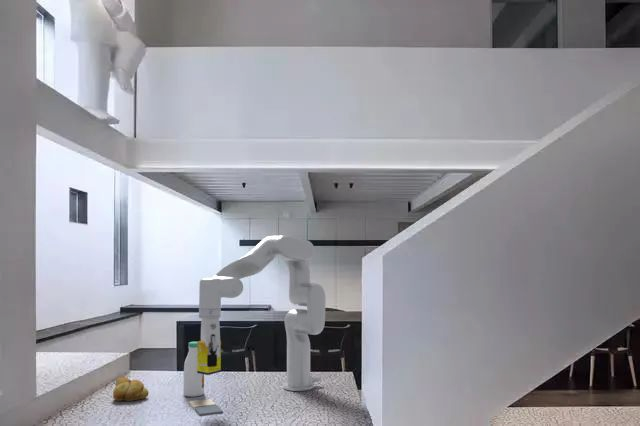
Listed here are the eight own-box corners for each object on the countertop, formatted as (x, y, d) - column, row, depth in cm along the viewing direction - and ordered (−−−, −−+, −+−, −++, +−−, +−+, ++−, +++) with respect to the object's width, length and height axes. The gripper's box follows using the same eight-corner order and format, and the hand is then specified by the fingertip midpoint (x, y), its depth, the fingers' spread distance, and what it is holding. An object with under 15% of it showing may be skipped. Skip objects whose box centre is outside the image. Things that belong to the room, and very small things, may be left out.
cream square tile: (210, 400, 205) (210, 398, 205) (215, 405, 197) (215, 404, 197) (189, 402, 201) (189, 401, 201) (193, 408, 194) (193, 406, 194)
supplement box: (209, 370, 196) (209, 339, 196) (221, 372, 192) (221, 340, 193) (196, 373, 191) (196, 341, 192) (208, 375, 187) (208, 342, 188)
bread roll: (151, 396, 211) (152, 375, 211) (142, 403, 201) (142, 380, 202) (118, 395, 211) (119, 374, 212) (107, 402, 202) (108, 380, 202)
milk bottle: (198, 397, 208) (199, 344, 210) (179, 396, 210) (180, 343, 211) (207, 392, 216) (207, 341, 217) (188, 391, 217) (189, 340, 219)
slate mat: (217, 406, 196) (217, 405, 196) (222, 412, 189) (222, 411, 189) (194, 409, 193) (194, 407, 193) (199, 415, 185) (199, 413, 185)
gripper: (226, 315, 187) (226, 368, 185) (214, 310, 203) (213, 359, 201) (204, 316, 184) (203, 369, 182) (193, 311, 199) (192, 360, 198)
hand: (208, 363), depth 192 cm, fingers closed on supplement box, 8 cm apart
